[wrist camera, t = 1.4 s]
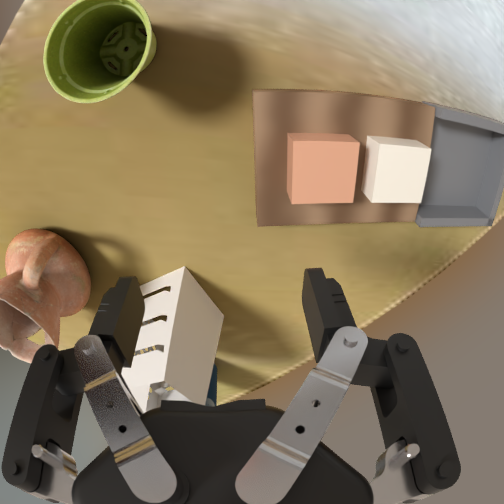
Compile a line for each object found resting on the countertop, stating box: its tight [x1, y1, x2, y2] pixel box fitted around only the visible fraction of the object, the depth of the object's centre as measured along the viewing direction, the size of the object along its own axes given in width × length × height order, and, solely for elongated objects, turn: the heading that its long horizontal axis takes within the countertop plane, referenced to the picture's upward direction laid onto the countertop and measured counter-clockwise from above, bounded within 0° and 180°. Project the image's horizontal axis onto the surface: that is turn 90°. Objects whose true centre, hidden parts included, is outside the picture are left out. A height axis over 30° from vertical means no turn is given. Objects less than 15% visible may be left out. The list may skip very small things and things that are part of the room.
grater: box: [121, 266, 224, 413], centre depth 34 cm, size 10×10×20 cm
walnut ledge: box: [252, 89, 435, 227], centre depth 30 cm, size 19×14×3 cm
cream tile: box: [361, 136, 431, 203], centre depth 27 cm, size 6×6×3 cm
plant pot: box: [44, 0, 156, 103], centre depth 19 cm, size 9×9×9 cm
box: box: [415, 101, 504, 227], centre depth 29 cm, size 14×14×4 cm
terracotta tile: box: [287, 133, 360, 204], centre depth 27 cm, size 6×6×3 cm
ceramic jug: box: [0, 229, 91, 363], centre depth 31 cm, size 18×14×14 cm
